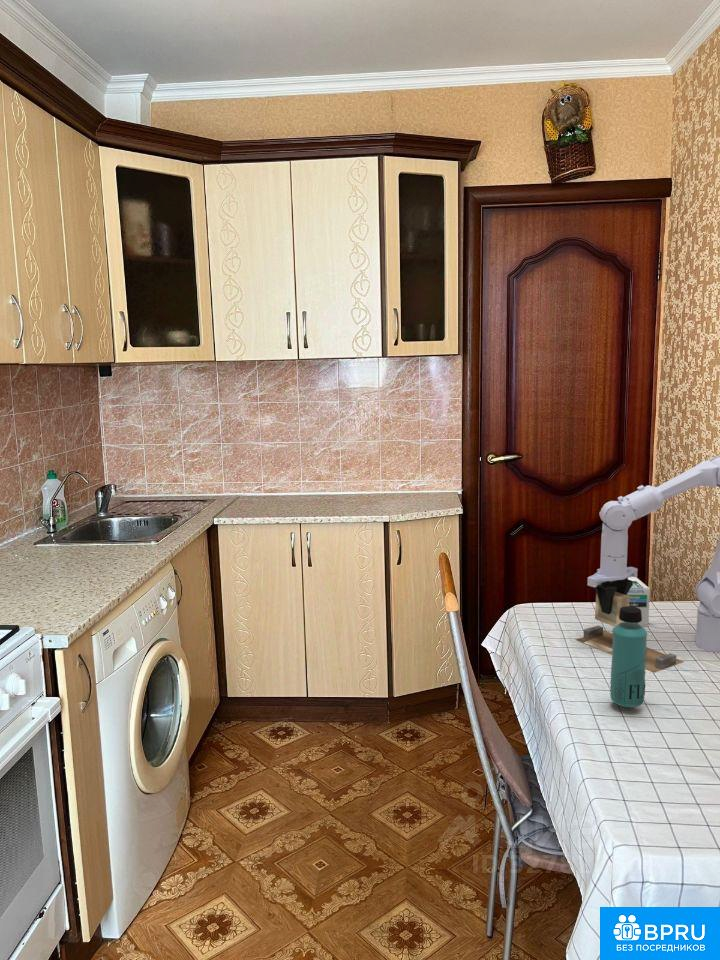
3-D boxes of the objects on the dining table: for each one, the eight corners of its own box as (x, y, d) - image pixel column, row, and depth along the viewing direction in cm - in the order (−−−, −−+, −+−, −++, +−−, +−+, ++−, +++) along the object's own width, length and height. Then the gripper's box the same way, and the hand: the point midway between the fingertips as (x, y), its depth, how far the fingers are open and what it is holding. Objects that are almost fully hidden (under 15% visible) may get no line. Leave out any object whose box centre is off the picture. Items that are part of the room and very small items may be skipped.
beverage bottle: (627, 717, 144) (632, 616, 140) (601, 703, 150) (605, 606, 146) (652, 709, 147) (657, 610, 143) (625, 696, 153) (630, 600, 149)
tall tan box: (603, 616, 180) (605, 588, 179) (627, 625, 174) (629, 596, 173) (594, 619, 179) (596, 590, 177) (618, 628, 173) (620, 599, 171)
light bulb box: (649, 630, 187) (651, 588, 185) (621, 630, 187) (623, 588, 185) (634, 614, 198) (636, 574, 196) (608, 615, 198) (609, 575, 196)
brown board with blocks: (604, 633, 185) (604, 622, 185) (684, 665, 167) (684, 653, 166) (575, 642, 180) (575, 631, 179) (654, 676, 161) (654, 663, 161)
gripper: (621, 545, 181) (618, 600, 183) (578, 555, 173) (575, 612, 176) (646, 552, 175) (643, 608, 177) (602, 562, 167) (600, 621, 170)
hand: (611, 611), depth 176 cm, fingers closed on tall tan box, 3 cm apart
